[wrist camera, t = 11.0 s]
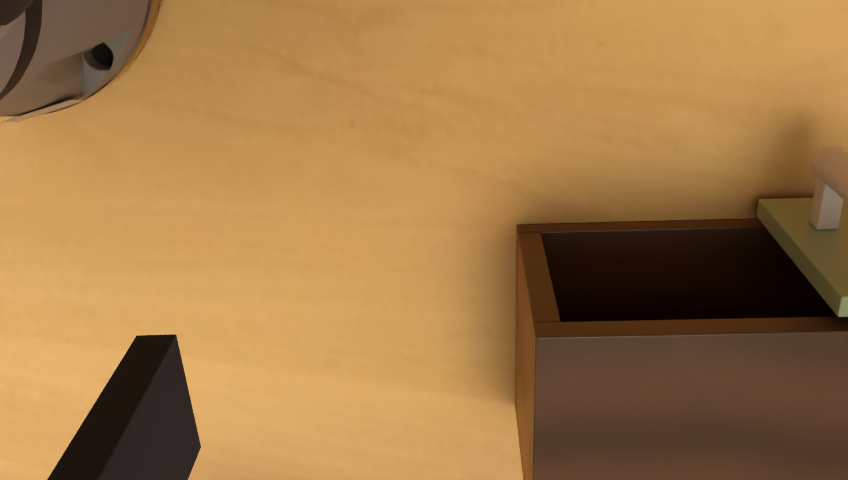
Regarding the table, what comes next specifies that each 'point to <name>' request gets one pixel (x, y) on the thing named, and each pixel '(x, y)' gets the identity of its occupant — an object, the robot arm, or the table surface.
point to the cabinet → (674, 355)
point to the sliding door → (817, 228)
